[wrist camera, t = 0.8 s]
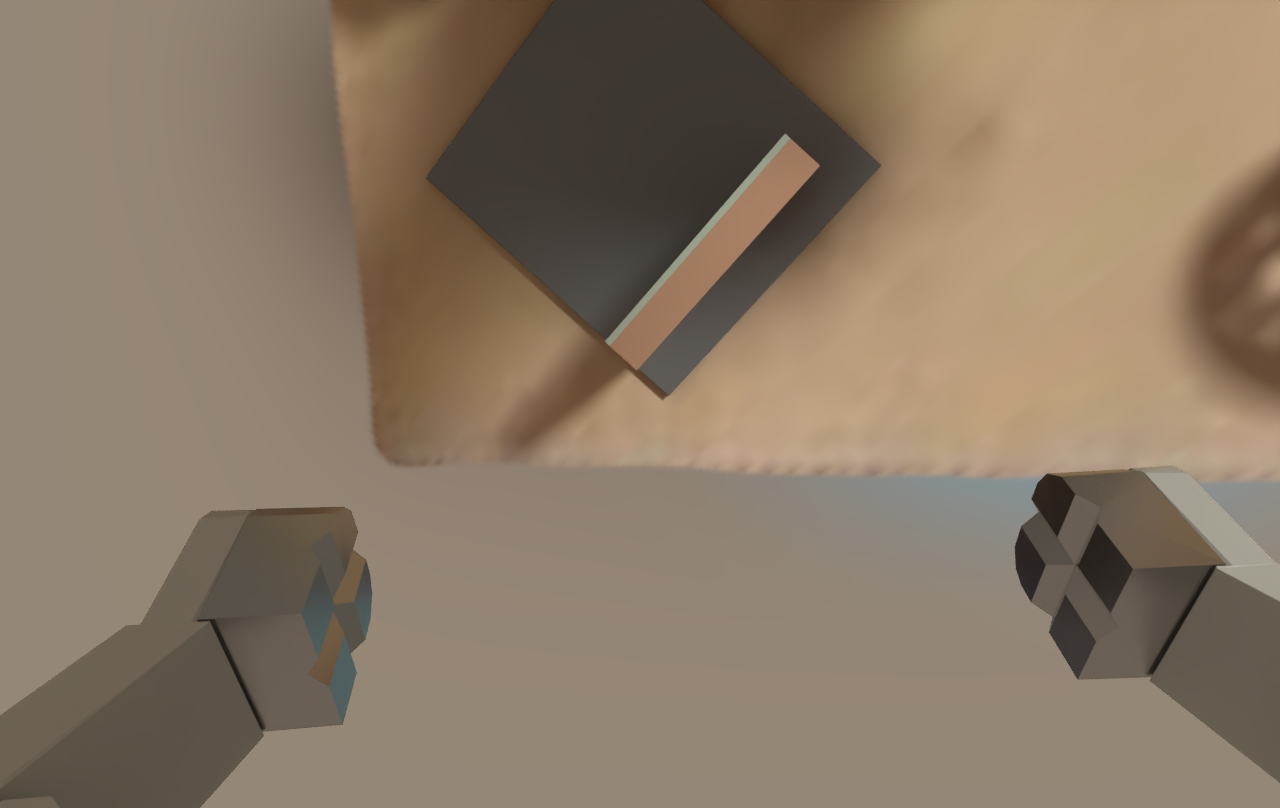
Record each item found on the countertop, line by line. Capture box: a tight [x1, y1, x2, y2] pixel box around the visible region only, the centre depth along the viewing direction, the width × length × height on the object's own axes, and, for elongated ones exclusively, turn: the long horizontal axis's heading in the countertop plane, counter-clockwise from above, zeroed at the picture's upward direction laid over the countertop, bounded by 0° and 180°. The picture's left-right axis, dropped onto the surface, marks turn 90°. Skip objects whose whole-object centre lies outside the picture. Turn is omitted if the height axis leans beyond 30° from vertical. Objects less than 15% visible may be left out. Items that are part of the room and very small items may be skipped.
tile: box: [605, 134, 820, 370], centre depth 41 cm, size 12×2×12 cm, turn 139°
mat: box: [426, 0, 881, 396], centre depth 47 cm, size 18×20×1 cm
